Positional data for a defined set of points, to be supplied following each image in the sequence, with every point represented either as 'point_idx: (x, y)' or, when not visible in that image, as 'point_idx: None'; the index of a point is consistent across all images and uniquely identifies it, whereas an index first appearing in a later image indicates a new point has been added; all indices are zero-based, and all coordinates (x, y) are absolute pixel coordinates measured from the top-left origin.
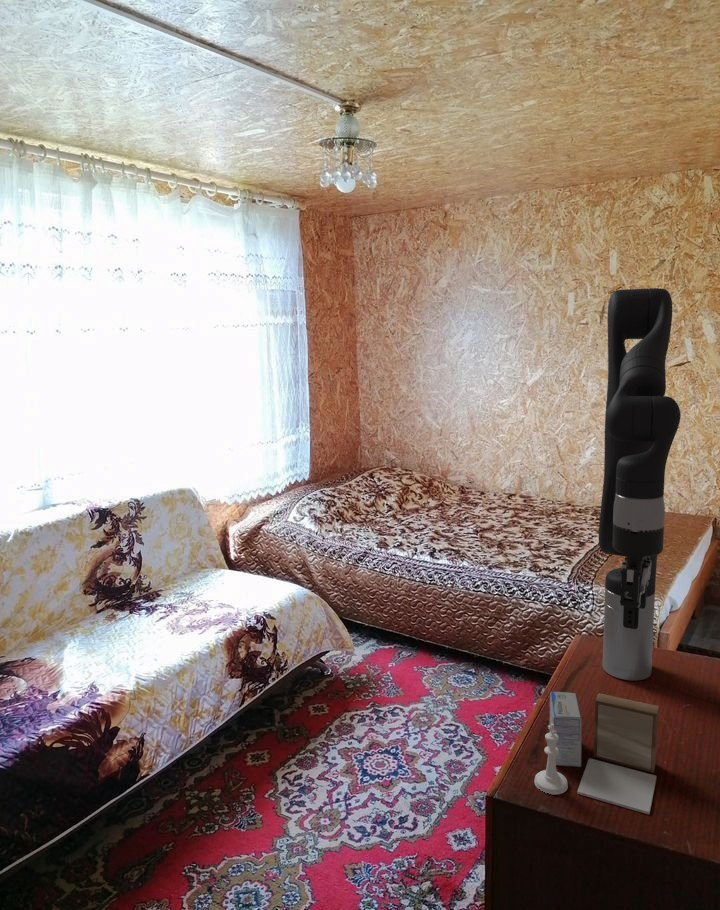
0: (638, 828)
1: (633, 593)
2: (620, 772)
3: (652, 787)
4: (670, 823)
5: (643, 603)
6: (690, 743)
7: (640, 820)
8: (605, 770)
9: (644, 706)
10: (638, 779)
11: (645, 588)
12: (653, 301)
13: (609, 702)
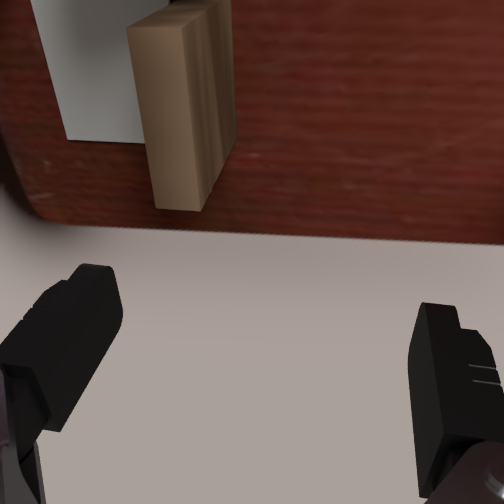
0: (23, 122)
1: (431, 384)
2: None
3: (142, 139)
4: (73, 170)
5: (411, 378)
6: (351, 201)
7: (45, 123)
8: None
9: (177, 178)
10: None
11: (420, 491)
12: None
13: (139, 77)
